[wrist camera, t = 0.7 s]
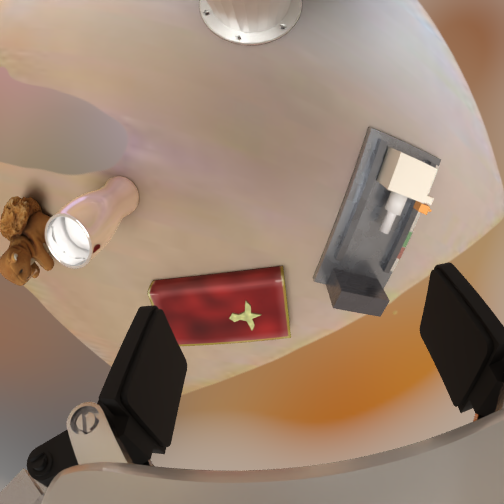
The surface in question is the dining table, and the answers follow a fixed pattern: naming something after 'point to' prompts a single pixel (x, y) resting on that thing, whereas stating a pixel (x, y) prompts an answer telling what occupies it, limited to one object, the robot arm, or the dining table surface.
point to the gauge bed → (367, 232)
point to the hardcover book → (224, 306)
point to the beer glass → (89, 222)
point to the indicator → (421, 207)
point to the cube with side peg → (404, 183)
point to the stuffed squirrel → (24, 240)
